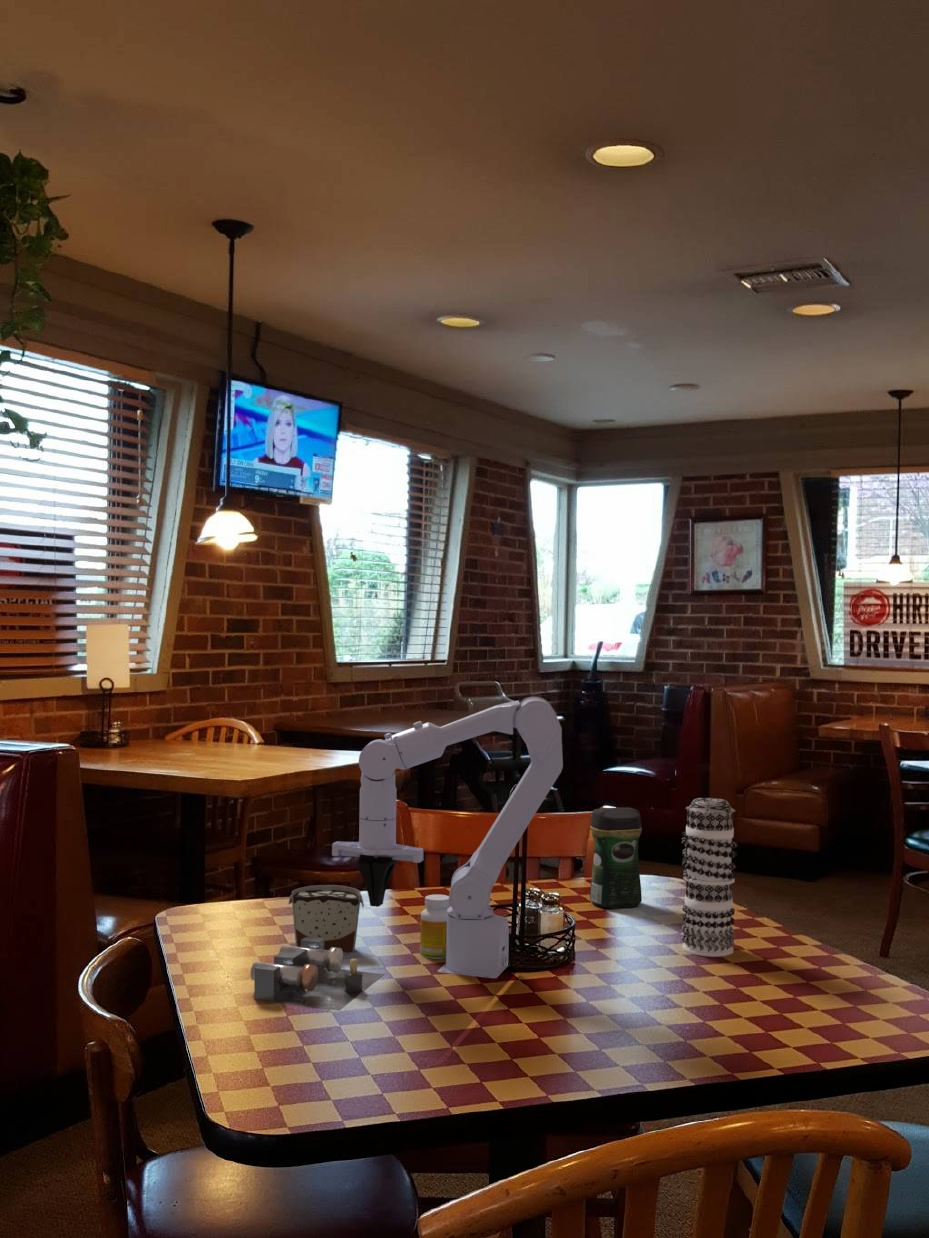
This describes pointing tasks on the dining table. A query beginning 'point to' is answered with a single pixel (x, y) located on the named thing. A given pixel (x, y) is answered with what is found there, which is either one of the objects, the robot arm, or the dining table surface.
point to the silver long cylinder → (323, 957)
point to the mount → (323, 996)
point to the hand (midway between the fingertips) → (376, 904)
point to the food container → (327, 915)
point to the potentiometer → (353, 978)
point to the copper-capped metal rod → (294, 975)
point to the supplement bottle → (434, 927)
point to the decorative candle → (708, 878)
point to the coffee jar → (615, 858)
